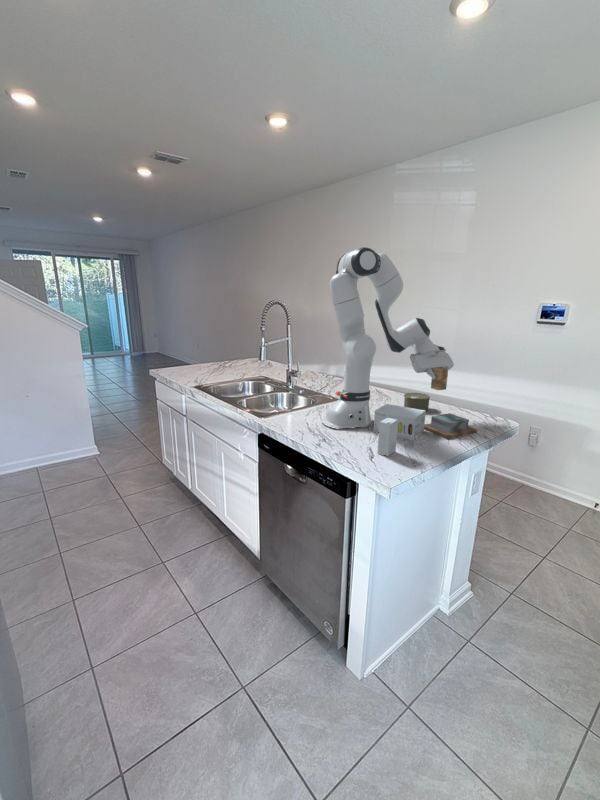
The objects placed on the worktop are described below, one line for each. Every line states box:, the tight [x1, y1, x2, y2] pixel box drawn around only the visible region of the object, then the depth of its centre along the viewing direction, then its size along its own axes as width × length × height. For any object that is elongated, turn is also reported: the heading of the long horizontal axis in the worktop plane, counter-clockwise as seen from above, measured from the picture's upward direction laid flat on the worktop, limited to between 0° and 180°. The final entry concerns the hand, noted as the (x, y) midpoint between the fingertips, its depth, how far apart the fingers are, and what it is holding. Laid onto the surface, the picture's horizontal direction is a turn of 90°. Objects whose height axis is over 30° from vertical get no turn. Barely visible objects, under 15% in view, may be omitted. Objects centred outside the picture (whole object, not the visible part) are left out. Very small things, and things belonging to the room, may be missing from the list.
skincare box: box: [377, 418, 398, 457], centre depth 128 cm, size 6×4×12 cm
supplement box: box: [373, 403, 426, 441], centre depth 150 cm, size 17×13×9 cm
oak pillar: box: [430, 368, 449, 391], centre depth 160 cm, size 4×4×9 cm
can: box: [403, 392, 431, 412], centre depth 181 cm, size 12×12×7 cm
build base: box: [424, 412, 478, 440], centre depth 150 cm, size 16×14×6 cm
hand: (440, 378), depth 159 cm, fingers closed on oak pillar, 4 cm apart
